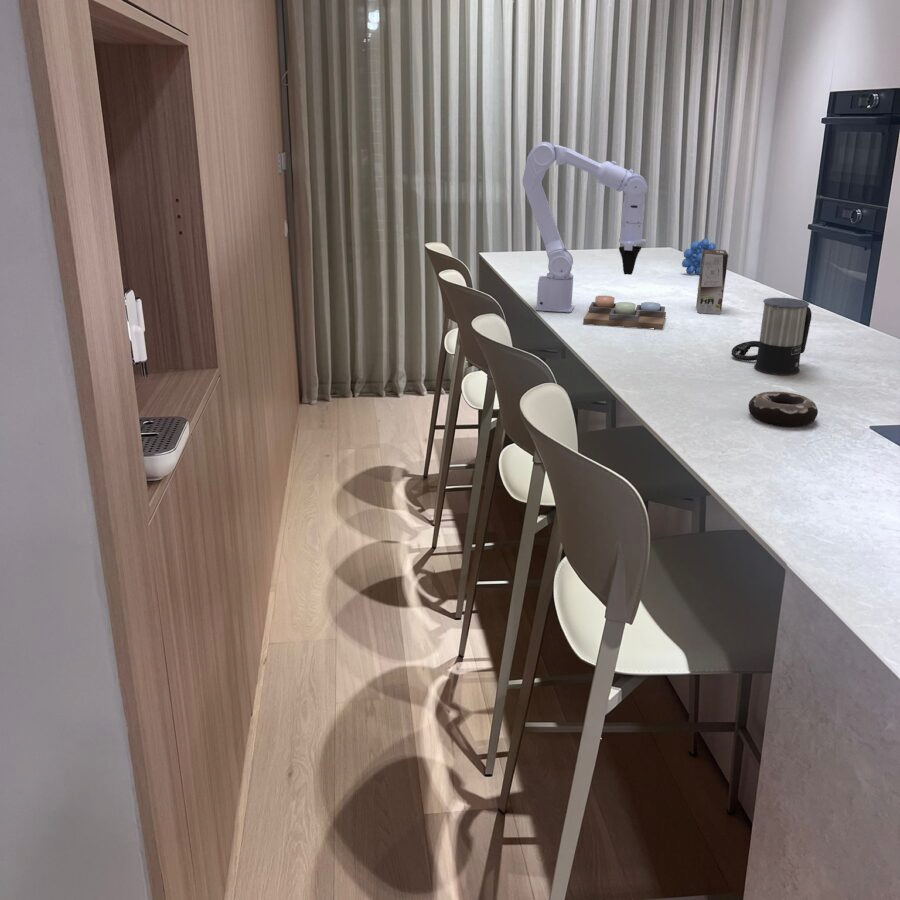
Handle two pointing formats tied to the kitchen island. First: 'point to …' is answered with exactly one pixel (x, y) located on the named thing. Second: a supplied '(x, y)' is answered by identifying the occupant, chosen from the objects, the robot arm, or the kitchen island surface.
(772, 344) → the milk frother
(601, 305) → the button terracotta
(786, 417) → the donut
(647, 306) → the button slate
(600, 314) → the panel
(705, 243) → the grapes
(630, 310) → the button sage
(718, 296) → the coffee box
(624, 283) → the kitchen island surface
